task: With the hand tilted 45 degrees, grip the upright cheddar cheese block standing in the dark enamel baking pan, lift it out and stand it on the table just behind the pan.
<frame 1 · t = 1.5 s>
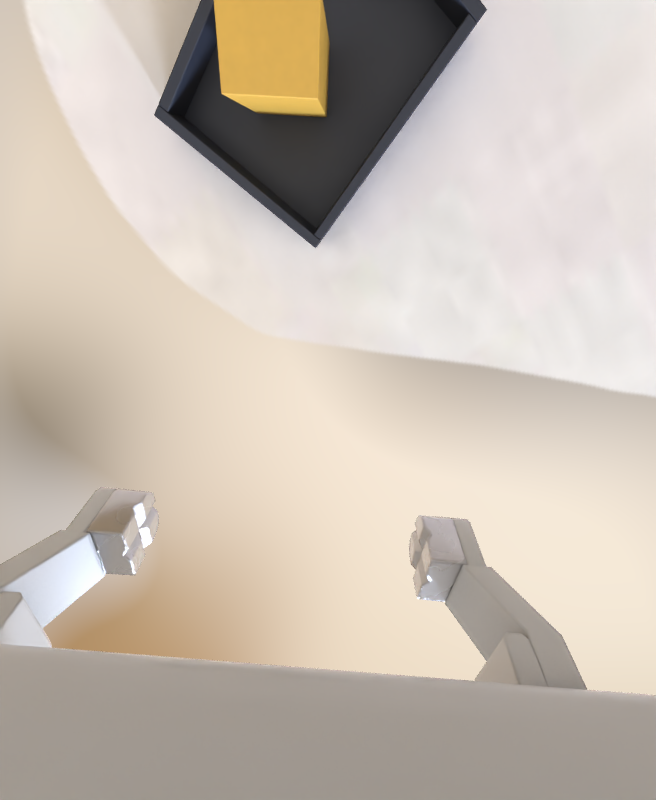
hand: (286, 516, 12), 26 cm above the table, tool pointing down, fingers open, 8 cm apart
cheese: (291, 79, 26), resting on pan
pan: (312, 76, 26), on the table
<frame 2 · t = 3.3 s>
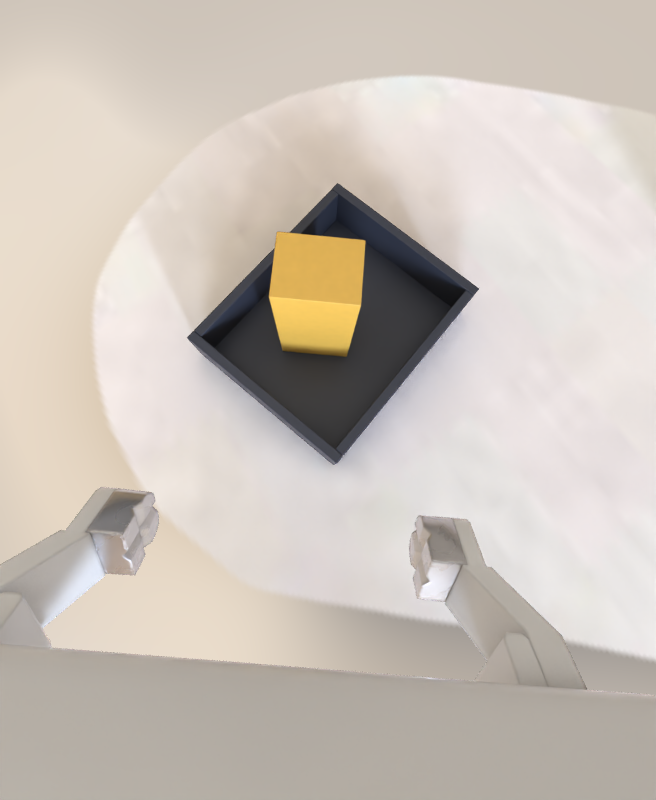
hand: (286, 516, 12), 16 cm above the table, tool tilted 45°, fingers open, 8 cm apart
cheese: (316, 329, 29), resting on pan
pan: (334, 330, 30), on the table
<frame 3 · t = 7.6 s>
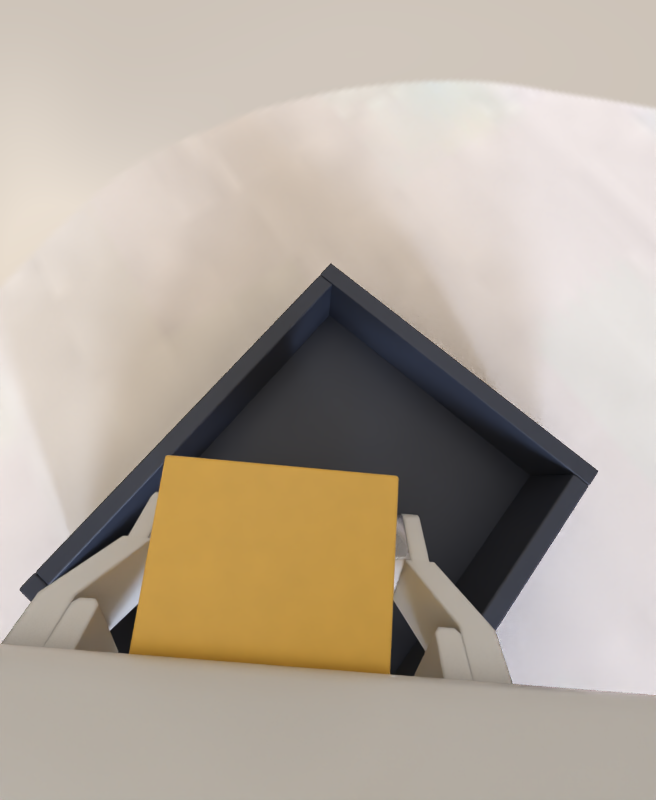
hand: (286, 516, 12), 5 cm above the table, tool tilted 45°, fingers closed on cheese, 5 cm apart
cheese: (292, 522, 16), point 1 cm above the table, touching gripper, pan
pan: (324, 518, 17), on the table
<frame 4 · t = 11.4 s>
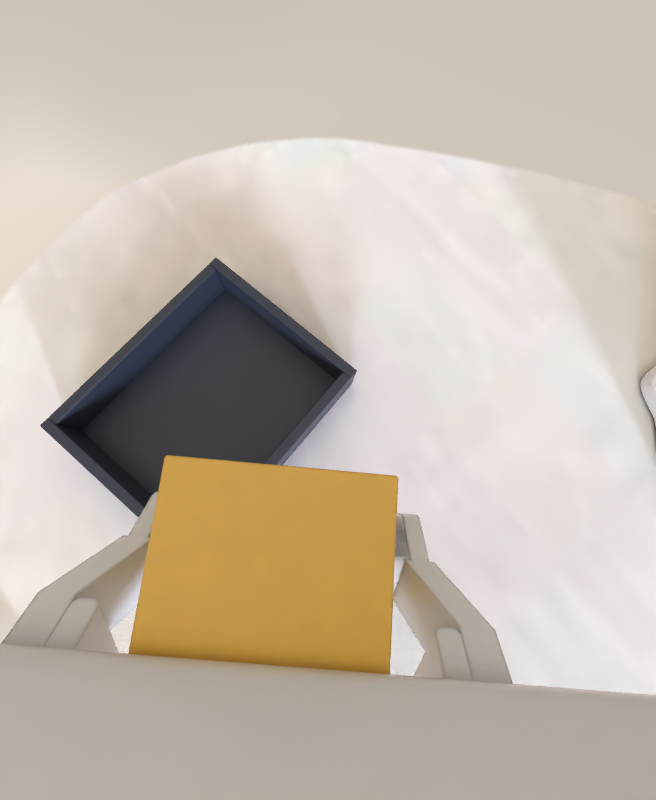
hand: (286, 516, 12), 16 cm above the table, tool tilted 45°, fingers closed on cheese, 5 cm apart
cheese: (292, 522, 16), point 11 cm above the table, touching gripper
pan: (216, 407, 29), on the table
when the fingers open (5 cm above the table, at t = 15.6 s): cheese stays where it is, on the table.
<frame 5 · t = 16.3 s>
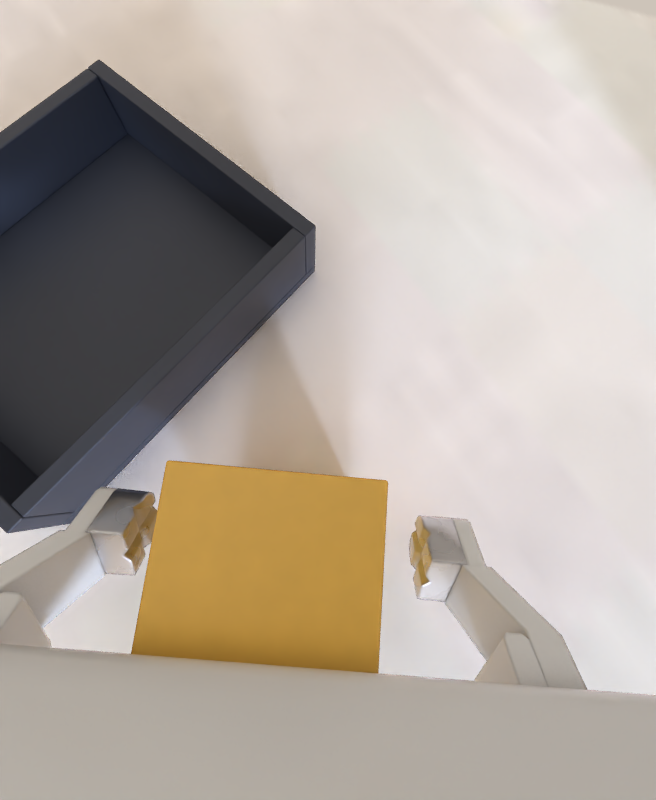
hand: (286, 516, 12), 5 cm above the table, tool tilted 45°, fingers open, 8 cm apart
cheese: (289, 523, 17), on the table
pan: (105, 301, 19), on the table
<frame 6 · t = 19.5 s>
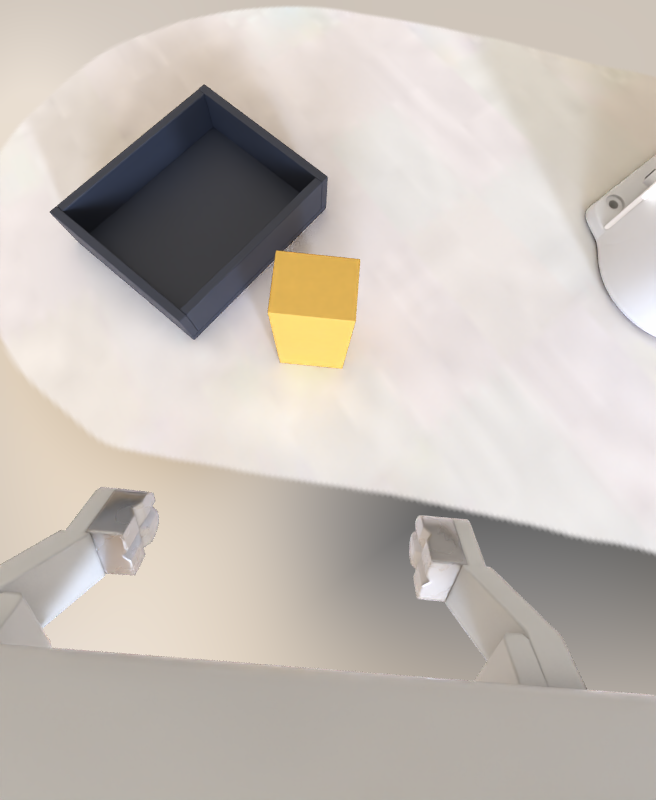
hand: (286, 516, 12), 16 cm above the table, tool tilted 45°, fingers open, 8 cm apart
cheese: (313, 342, 30), on the table
pan: (205, 224, 32), on the table
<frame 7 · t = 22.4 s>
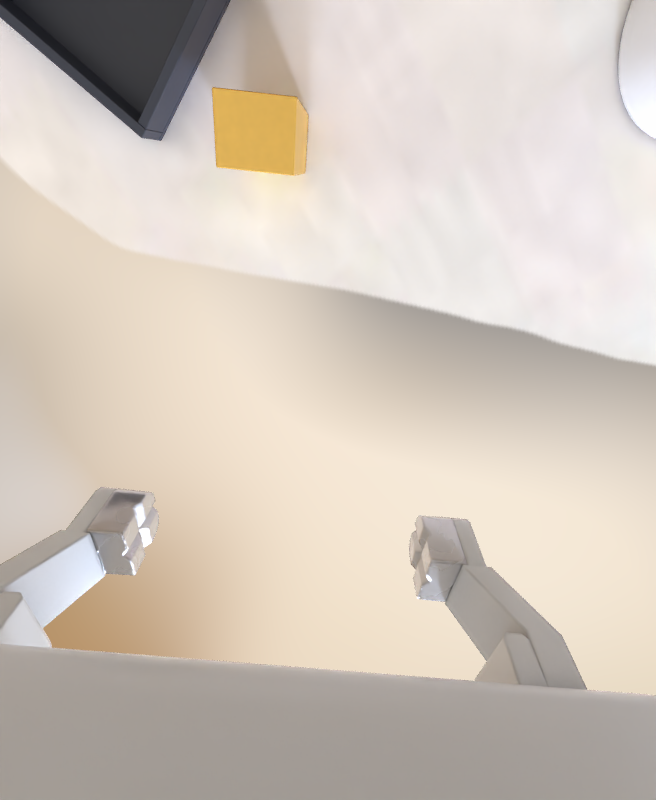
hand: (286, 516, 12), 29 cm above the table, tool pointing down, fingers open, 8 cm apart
cheese: (276, 141, 31), on the table
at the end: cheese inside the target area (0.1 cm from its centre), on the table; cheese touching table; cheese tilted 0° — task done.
